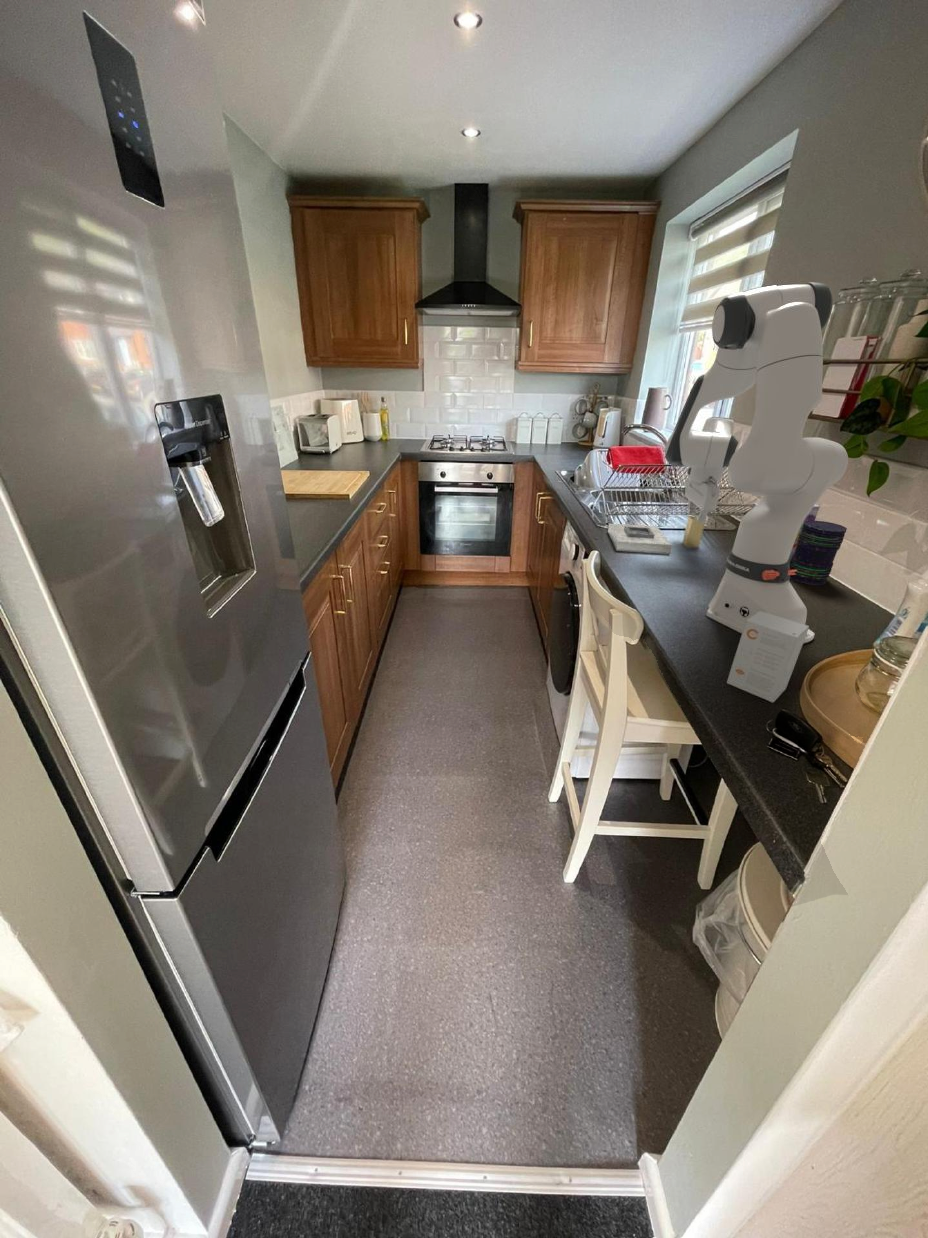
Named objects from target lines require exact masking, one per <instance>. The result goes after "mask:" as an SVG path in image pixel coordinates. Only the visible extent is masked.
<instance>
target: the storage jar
mask: <svg viewBox="0 0 928 1238" xmlns="http://www.w3.org/2000/svg"><path fill="white" fill-rule="evenodd" d="M847 530H848V528H847V527H845V526H844V525H841V524H838V523H833V522H829V521H825V520H824V521H823V520H815V521H805V522H804V524H803V527H802V529H801V531H800V534H799V538H798V541H797V543H798V544H797V547H796V549H795V552H794V555H793V556H792V558H791V561H790V563H789V564H790V570H797V571H796V572H792V573H795V574H796V575H790V579H791V580H792V581H795V582H798V583H802V584H805V585H815V586H816V585H817V586H820V585H825V584H826V583H827V581H828V580H827V579H828V578H829V576H830V575H831V572H832V568H833V567H834V566H833V565H834V560H835V558H836V555H837V553H838V551H840V548H841V545H842V543H843V541H844V537H845V535H846V534H845V533H846V532H847ZM790 579H789V580H790Z"/></svg>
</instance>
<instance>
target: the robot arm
mask: <svg viewBox="0 0 928 1238" xmlns="http://www.w3.org/2000/svg"><path fill="white" fill-rule="evenodd" d="M832 309H833V294H832V292H831V290H830V287H829V286H828V285H827V284H825V283H820V282H806V283H804V284H800V283H799V284H785V285H784V284H783V285H778V286H777V285H770V286H764V287H759V288H755V289H752V290H748V291H745V292H743V291H739V292H735V293H733V294H732V293H731V295H728V296H726V297H724V298H723V299H722V300H721V301H720V303H719V304H718V305H717V306H716V308H715V311H714V313H713V318H712V323H711V334H712V340H713V342H714V344H715V345H716V346H717V347H718V348H717V352H716V355H715V359H714V362H713V363H712V365H711V367H710V368H709V369H708V371H707V372H706V373H704V374H702V375H700V376H698V377H697V379H696V380H695V382H694V383H693V385H692V387H691V389H690V392H689V394H688V396H687V399H686V400H685V403H684V405H683V407H682V410H681V412H680V416H679V417H678V420H677V422H676V425H675V427H674V429H673V431H672V433H671V435H670V436H669V438H668V439H667V442H666V444H665V448H664V458H665V460H666V461H667V462H668V463H669V464H670V465H671V466H672V467H688V468H687V472H686V473H687V475H688V476H687V478H686V483H685V489H684V494H685V495H684V496H685V498H688V510H687V513H688V514H689V515H690V516H694V515H695V514H696V507H698V509H699V514H698V515H696V517H697V520H696V521H697V522H698V523H704V519H705V520H706V517H707V516H708V514H709V513H714V512H715V511H716V510H717V506H718V502H719V497H720V491H721V490H720V489H721V488H720V486H719V485H718V483H720V482H721V481H722V480H723V479H722V478H723V475H724V471H725V468H726V467H727V476H728V481H729V483H730V485H731V486H732V487H733V489H735V490H736V491H738V492H740V493H744V494H749V495H755V496H761V499H760V500H759V501H758V502H757V503H758V504H757V505H756V506H755V507H754V508H753V509H750V510H749V511H747V512H746V513H745V514H744V515H743V516H742V518H741V520H740V523H739V526H738V529H737V533H736V536H735V540H734V543H733V546H732V549H731V550H729V554H728V556H727V558H726V563H725V567H726V569H725V573H724V574H723V576H722V579H721V581H720V583H719V585H718V587H717V589H716V591H715V594H714V596H713V597H712V599H711V600H710V601H709V603H708V606H707V607H708V609H707V612H706V613H705V615H706V616H707V617H708V618H710V619H712V620H714V621H716V622H718V623H720V624H721V625H724V626H726V627H728V628H730V629H732V630H733V631H736V632H738V633H740V634H742V633H743V629H744V626H745V623H746V620H747V619H749V618H750V617H752V616H753V615H755V614H756V613H757V612H759V611H763V612H766V613H769V614H772V615H775V616H778V617H782V618H785V619H788V620H791V621H794V622H797V623H801V624H804V625H806V622H807V617H808V616H807V615H808V610H807V606H806V605H805V603H804V602H803V600H802V599H801V597H800V596H799V594H798V592H797V591H796V590H795V588H794V587H793V585H792V583H791V582H790V575H796V574H795V573H792V572H796V571H797V570H790V564H789V560H788V559H789V556H790V553H791V550H792V548H793V545H794V542H795V540H796V537H797V534H798V532H799V530H800V527H801V525H802V524H803V522H804V520H805V518H806V517H807V515H808V514H809V512H810V511H811V509H812V508H813V507H814V505H815V504H816V505H817V503H818V501H819V500H820V498H821V497H822V496H823V495H824V494H825V493H826V491H828V489H830V488H831V487H832V486H833V485H835V484H836V483H838V482H839V481H840V480H841V478H843V476H844V474H845V473H846V472H847V469H848V465H849V456H848V455H849V454H848V453H847V450H846V448H845V447H844V446H843V445H841V444H840V443H838V442H837V441H834V440H830V439H827V438H823V437H803V433H804V429H805V424H806V422H807V419H808V417H809V415H810V413H811V412H813V411H814V410H815V409H816V408H817V407H818V406H819V404H821V402H822V398H823V378H824V377H823V373H824V372H823V370H824V369H823V368H824V367H823V366H824V365H823V364H824V351H823V350H824V347H823V344H824V343H823V342H824V341H823V333H822V332H823V331H822V330H823V329H824V328H825V326H827V323H828V321H829V319H830V317H831V314H832ZM754 385H756V386H755V387H756V388H755V390H756V391H755V392H756V393H755V411H754V417H753V420H752V424H751V426H750V430H749V432H748V434H747V437H746V438H745V440H744V442H743V443H742V444H741V445H740V447H739V448H738V449H737V447H738V445H739V441H738V440H737V438H736V437H735V436H734V435H733V434H734V429H735V428H734V427H735V421H734V420H733V419H732V418H729V417H724V416H723V417H722V416H721V417H720V416H712V417H709V418H707V419H706V420H705V422H704V424H703V427H702V429H701V431H700V430H693V429H692V426H693V424H694V422H695V420H696V417H697V416H698V413H699V412H700V410H702V409H703V408H704V407H705V406H707V405H710V404H713V403H716V402H719V401H723V400H727V399H732V398H734V397H735V398H736V397H738V396H740V395H742V394H744V393H745V392H747V391H749V390H750V389H751V388H752V387H753V386H754ZM814 637H815V632H813V631H812V630H811V629H810V628H809V629H808V631H807V634H806V637H805V640H804V642H803V644H806V643H809V642H811V641H813V640H814Z"/></svg>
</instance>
